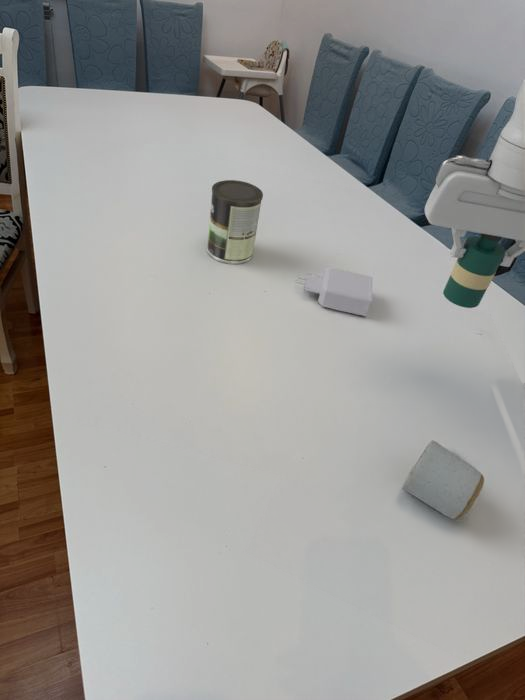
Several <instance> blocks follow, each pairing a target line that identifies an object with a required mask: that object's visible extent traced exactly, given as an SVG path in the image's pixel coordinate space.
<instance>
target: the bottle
mask: <svg viewBox="0 0 525 700" xmlns="http://www.w3.org/2000/svg"><path fill="white" fill-rule="evenodd" d="M502 239H503V237H498V236H493V235H487V234H482V233H479V236H469V237H467V238H466V240H465V242H464V244H465V247H466V248H467V250H466V252H465V254H463V255H464V257H463V258H462V259H461V258H456V261H455V263H454V265H453V267H452V269H451V273H450V275H449V277H448V280H447V282H446V284H445V287H444V289H443V291H442V294H443V296H444V297H445V299H447V301H449V302H450V303H452V304H453V305H456V306H458V307H462V308H466V309H474V308H476V307H478V306H479V305H480V303H481V301H482V300H483V297H484V296H485V293H486V292H487V289H488V288H489V287H490V285H491V283H492V281H493V279H494V276H495V275H496V273H497V270H498V268H499V267H500V265H499V264H500V262H501V261H502V259H503V257H504V255H505V252H506V251H507V250H506V249H505V247H504V246H503V245H502V244H501V243H499V242H500V241H502Z"/></svg>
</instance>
